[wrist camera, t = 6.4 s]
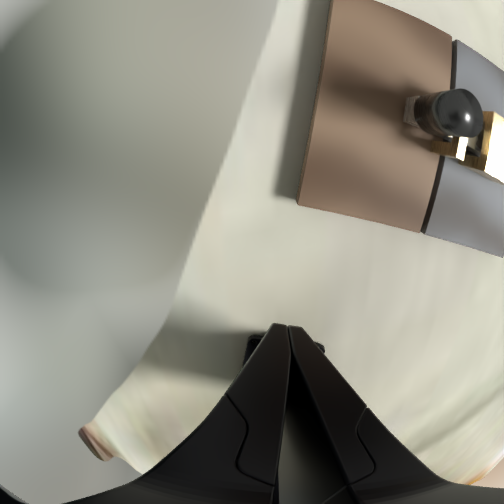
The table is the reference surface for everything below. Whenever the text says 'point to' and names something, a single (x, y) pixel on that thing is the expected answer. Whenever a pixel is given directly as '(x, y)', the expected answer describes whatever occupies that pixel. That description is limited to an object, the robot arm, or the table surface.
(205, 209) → the table surface
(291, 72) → the table surface
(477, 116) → the steel bolt
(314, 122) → the board
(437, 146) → the brass keeper
